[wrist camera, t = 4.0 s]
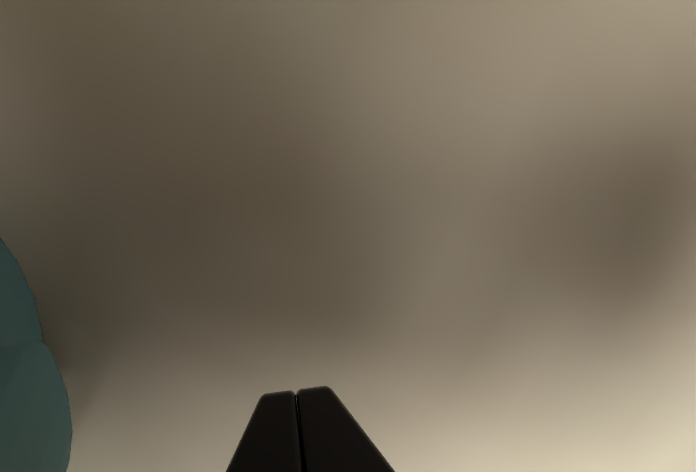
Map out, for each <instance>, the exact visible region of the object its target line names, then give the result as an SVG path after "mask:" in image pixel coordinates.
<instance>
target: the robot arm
mask: <svg viewBox="0 0 696 472" xmlns="http://www.w3.org/2000/svg"><path fill="white" fill-rule="evenodd" d="M296 398H297V401H296ZM297 408H298V410H297ZM298 418H299V420H298ZM299 428H300V429H299ZM226 472H395V471H394V470H393V468H392V467H391V466H390V464H389V463H388V462H387V460H386V459H385V458H384V456H383V455H382V454H381V453H380V451H379V450H378V449H377V447H376V446H375V445H374V443H373V442H372V441H371V440H370V438H369V437H368V436H367V434H366V433H365V432H364V430H363V429H362V428H361V427H360V425H359V424H358V423H357V421H356V420H355V419H354V417H353V416H352V415H351V414H350V412H349V411H348V410H347V408H346V407H345V406H344V404H343V403H342V402H341V401H340V399H339V398H338V397H337V395H336V394H335V393H334V391H333V390H332V389H331V388H330V387H327V386H321V387H313V388H305V389H300V390H299V391H298V392H297V394H296V395H295V393H294V392H293V391H282V392H275V393H267V394H264V395H263V396H261V398H260V399H259V401H258V403H257V405H256V408H255V410H254V412H253V414H252V416H251V418H250V421H249V423H248V425H247V427H246V429H245V431H244V434H243V436H242V438H241V440H240V442H239V444H238V447H237V449H236V451H235V453H234V455H233V457H232V460H231V462H230V464H229V466H228V468H227V470H226Z"/></svg>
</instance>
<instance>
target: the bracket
mask: <svg viewBox="0 0 696 472" xmlns="http://www.w3.org/2000/svg"><path fill="white" fill-rule="evenodd" d="M71 439H72V423H71V416H70V408H69V401H68V394H67V391H66V388H65V386H64V383H63V380H62V378H61V375H60V372H59V370H58V367H57V364H56V362H55V359H54V356H53V354H52V352H51V350H50V348H49V347H48V346H47V345H46V344H44V343H42V330H41V326H40V321H39V317H38V313H37V308H36V304H35V299H34V297H33V295H32V292H31V290H30V288H29V286H28V284H27V282H26V280H25V277H24V275H23V273H22V271H21V269H20V267H19V265H18V262H17V260H16V259H15V258H14V256H13V255H12V253H11V252H10V251H9V249H8V248H7V246H6V245H5V244H4V242H3V241H2V239H1V238H0V472H66V470H67V466H68V463H69V459H70V449H71Z"/></svg>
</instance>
